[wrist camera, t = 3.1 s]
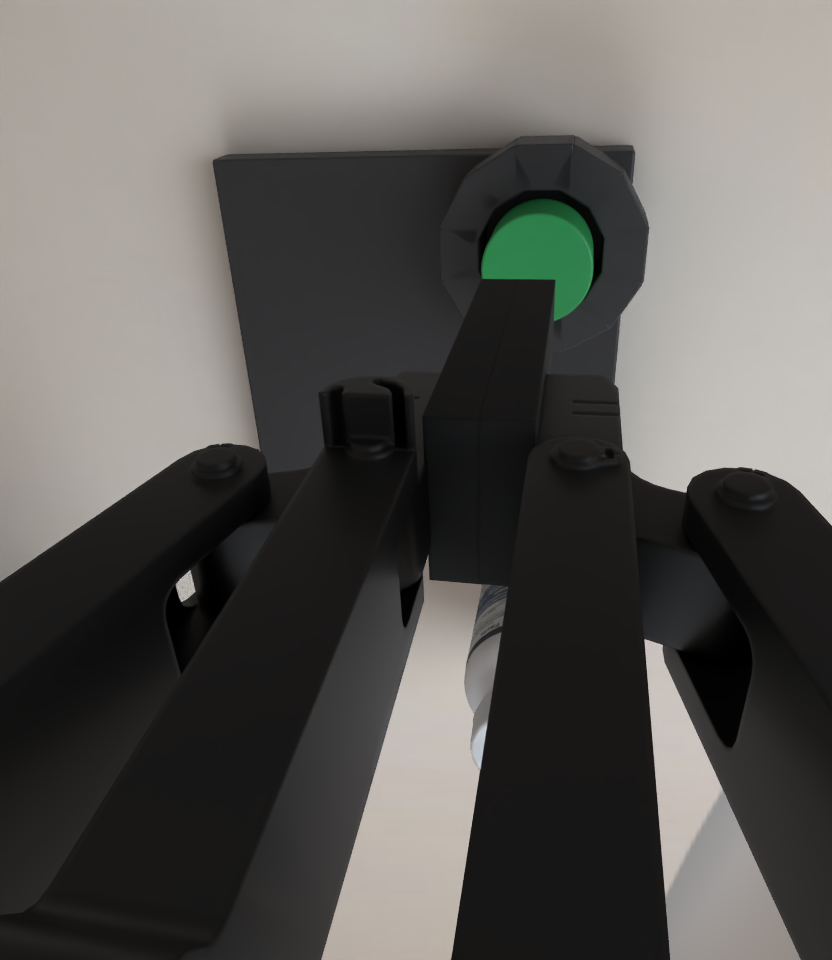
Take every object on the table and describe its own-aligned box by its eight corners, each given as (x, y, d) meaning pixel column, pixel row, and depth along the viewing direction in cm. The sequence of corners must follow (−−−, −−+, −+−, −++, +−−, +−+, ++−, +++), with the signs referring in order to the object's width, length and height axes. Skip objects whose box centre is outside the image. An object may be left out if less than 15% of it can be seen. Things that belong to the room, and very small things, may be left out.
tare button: (489, 198, 22) (480, 213, 20) (597, 197, 21) (597, 212, 20) (489, 301, 24) (481, 323, 22) (590, 303, 23) (589, 326, 21)
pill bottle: (627, 624, 32) (636, 809, 24) (505, 641, 34) (480, 819, 26) (596, 519, 30) (596, 688, 22) (468, 544, 31) (428, 707, 24)
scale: (224, 139, 25) (183, 152, 23) (650, 127, 23) (658, 141, 20) (282, 511, 32) (256, 553, 30) (610, 535, 30) (612, 582, 27)
